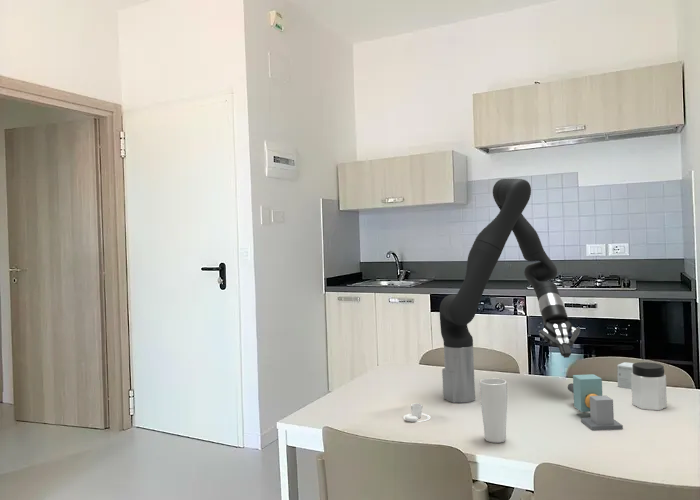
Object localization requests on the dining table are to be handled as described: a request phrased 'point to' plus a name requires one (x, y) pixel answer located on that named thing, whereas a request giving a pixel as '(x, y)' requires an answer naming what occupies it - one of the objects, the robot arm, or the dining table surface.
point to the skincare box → (624, 374)
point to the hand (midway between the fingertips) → (567, 356)
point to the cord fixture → (599, 412)
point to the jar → (648, 386)
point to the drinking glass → (494, 408)
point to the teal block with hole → (585, 389)
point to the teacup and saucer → (415, 413)
